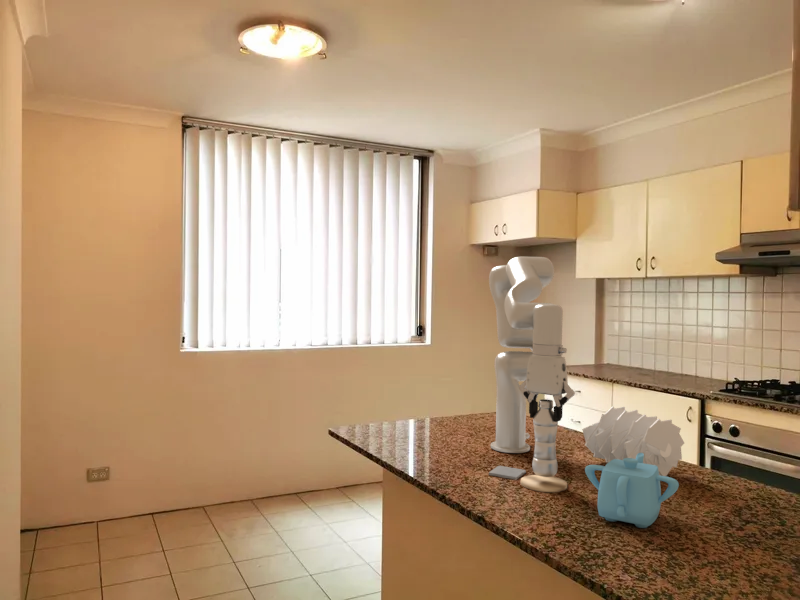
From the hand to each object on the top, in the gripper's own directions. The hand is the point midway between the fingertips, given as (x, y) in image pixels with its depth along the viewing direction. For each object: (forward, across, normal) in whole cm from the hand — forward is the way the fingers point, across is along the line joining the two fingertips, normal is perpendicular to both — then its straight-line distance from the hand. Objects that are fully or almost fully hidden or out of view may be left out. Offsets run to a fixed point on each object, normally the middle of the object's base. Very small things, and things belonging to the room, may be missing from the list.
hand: (545, 418), depth 160 cm
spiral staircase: (+18, -13, -30) cm, 37 cm away
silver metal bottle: (+15, 0, 0) cm, 15 cm away
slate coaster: (+18, +12, -2) cm, 21 cm away
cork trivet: (+18, 0, 0) cm, 18 cm away
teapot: (+18, -25, +7) cm, 32 cm away
